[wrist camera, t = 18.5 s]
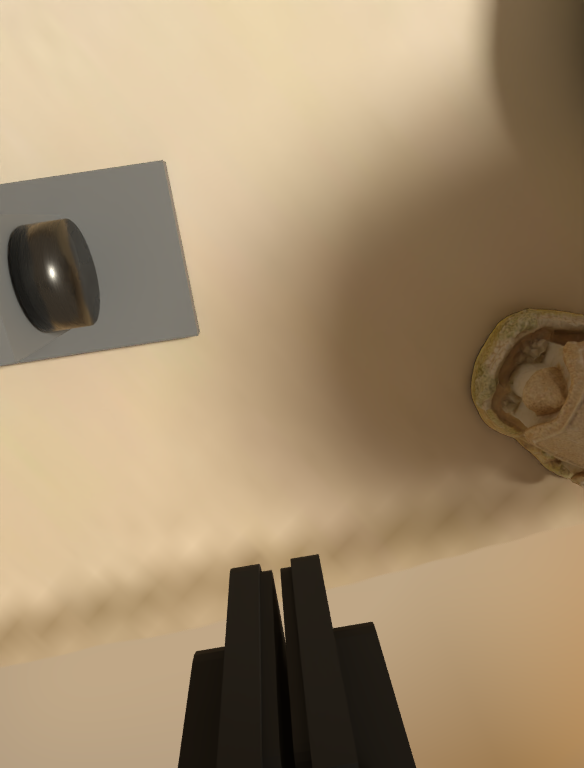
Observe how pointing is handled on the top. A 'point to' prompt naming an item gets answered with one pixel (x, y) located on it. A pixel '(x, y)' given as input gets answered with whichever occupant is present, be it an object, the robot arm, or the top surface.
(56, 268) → the shaft
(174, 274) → the grey bearing stand
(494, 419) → the ceramic model
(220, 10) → the top surface
